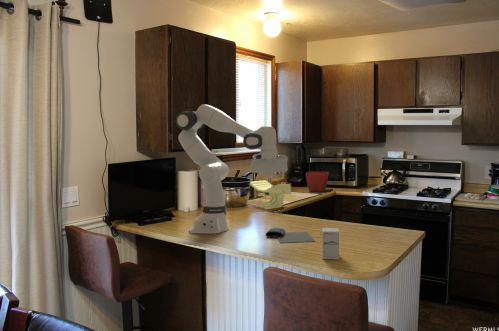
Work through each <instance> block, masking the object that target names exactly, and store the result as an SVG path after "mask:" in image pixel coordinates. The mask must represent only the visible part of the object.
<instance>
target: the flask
mask: <svg viewBox="0 0 499 331" xmlns="http://www.w3.org/2000/svg"><path fill="white" fill-rule="evenodd" d="M284 233H286V229H284V228H280V227H279V228H278V227H276V228H275V227H274V228H270V229H268V230H267V232H265V237H268V238H269V237H271V238H272V237H273V238H277V237H282V236H283V235H284Z"/></svg>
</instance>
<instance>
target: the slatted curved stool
mask: <svg viewBox="0 0 499 331" xmlns="http://www.w3.org/2000/svg"><path fill="white" fill-rule="evenodd" d="M249 186H250V187H252V188H253V189H254V190H255V191H257V192H263V193H268V195H269V197H270V199H269V201H267V202H264V203H259V204H258V203H257V204H256V208H260V209H264V210H271V209H279V208H282V207H283V206H284V200H285V195H286V196H287V195H292V187H291V185H290V184H288V183H286V184H278V185H277V184H274V185H273V184H271V183H270V182H269V181H267V180H254V181H249Z"/></svg>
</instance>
